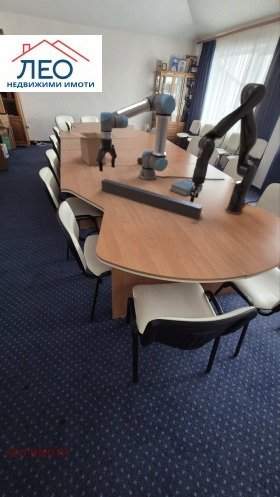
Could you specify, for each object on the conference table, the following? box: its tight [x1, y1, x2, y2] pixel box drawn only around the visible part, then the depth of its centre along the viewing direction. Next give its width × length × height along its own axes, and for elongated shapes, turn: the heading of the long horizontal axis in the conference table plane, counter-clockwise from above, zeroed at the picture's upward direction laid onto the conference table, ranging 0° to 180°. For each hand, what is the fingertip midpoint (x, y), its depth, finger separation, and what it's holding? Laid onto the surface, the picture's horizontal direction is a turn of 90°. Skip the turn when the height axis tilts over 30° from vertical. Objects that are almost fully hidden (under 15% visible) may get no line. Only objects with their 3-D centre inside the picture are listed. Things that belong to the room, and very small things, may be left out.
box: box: [70, 129, 114, 166], centre depth 229 cm, size 44×36×27 cm
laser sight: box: [136, 154, 143, 165], centre depth 236 cm, size 10×22×10 cm, turn 78°
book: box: [170, 178, 204, 197], centre depth 184 cm, size 23×16×5 cm
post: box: [100, 178, 203, 220], centre depth 159 cm, size 79×5×8 cm, turn 60°
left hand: (107, 169), depth 166 cm, fingers open, 13 cm apart
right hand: (193, 199), depth 142 cm, fingers open, 8 cm apart
